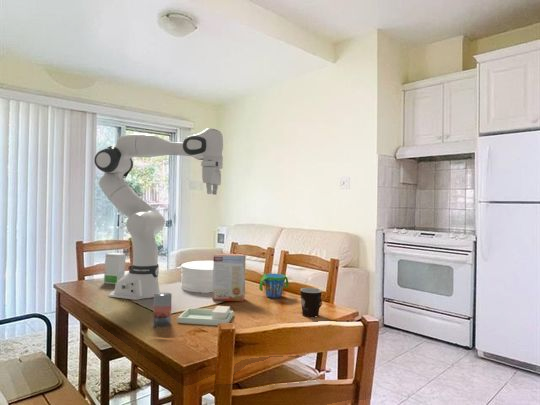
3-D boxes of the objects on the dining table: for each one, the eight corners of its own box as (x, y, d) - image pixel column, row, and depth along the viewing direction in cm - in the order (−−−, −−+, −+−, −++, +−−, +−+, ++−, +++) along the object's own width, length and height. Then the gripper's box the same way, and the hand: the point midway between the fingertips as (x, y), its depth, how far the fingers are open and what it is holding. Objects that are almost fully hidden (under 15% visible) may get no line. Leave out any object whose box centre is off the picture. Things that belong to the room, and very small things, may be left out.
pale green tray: (177, 324, 131) (177, 317, 131) (188, 314, 143) (188, 308, 143) (226, 327, 130) (227, 320, 130) (233, 317, 142) (233, 310, 142)
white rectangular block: (211, 322, 132) (212, 311, 132) (216, 316, 140) (217, 305, 140) (225, 323, 132) (225, 312, 132) (229, 317, 140) (230, 306, 140)
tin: (150, 327, 127) (151, 296, 127) (157, 322, 133) (158, 292, 133) (167, 328, 126) (168, 297, 127) (173, 323, 133) (174, 292, 133)
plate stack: (221, 279, 212) (221, 259, 212) (244, 289, 188) (244, 267, 188) (173, 283, 197) (174, 262, 197) (192, 295, 173) (192, 271, 173)
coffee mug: (299, 311, 152) (299, 287, 152) (319, 312, 152) (320, 288, 152) (300, 320, 140) (301, 294, 140) (323, 321, 140) (323, 295, 140)
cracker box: (244, 298, 169) (246, 253, 170) (242, 302, 163) (244, 255, 164) (215, 297, 171) (216, 252, 171) (211, 300, 165) (213, 254, 165)
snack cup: (282, 292, 184) (283, 272, 184) (293, 297, 174) (294, 276, 174) (254, 295, 177) (255, 274, 177) (264, 300, 167) (264, 278, 167)
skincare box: (103, 283, 192) (104, 253, 192) (110, 280, 198) (111, 252, 198) (118, 284, 190) (119, 254, 190) (125, 281, 197) (126, 253, 197)
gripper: (211, 166, 179) (210, 194, 179) (200, 161, 159) (199, 193, 158) (224, 166, 178) (223, 195, 178) (214, 161, 158) (213, 193, 158)
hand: (211, 194), depth 168 cm, fingers open, 8 cm apart
